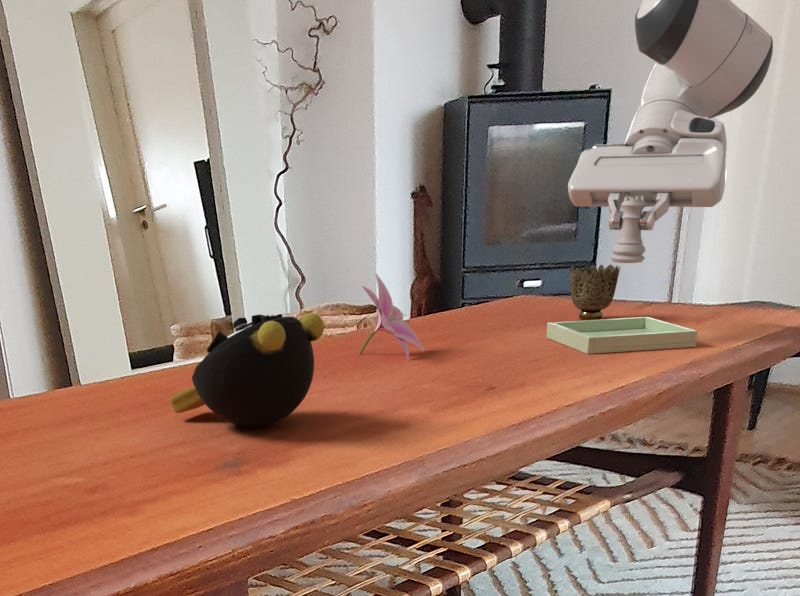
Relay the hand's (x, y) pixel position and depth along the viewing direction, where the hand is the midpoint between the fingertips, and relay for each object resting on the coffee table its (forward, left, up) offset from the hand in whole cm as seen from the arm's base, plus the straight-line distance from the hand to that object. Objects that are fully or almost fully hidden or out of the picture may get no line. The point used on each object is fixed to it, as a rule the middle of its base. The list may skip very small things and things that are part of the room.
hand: (630, 226), depth 128 cm
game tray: (0, 0, -15) cm, 15 cm away
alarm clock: (+42, +48, -15) cm, 66 cm away
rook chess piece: (0, -1, -5) cm, 5 cm away
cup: (+2, -20, -15) cm, 25 cm away
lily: (+31, +10, -15) cm, 36 cm away
